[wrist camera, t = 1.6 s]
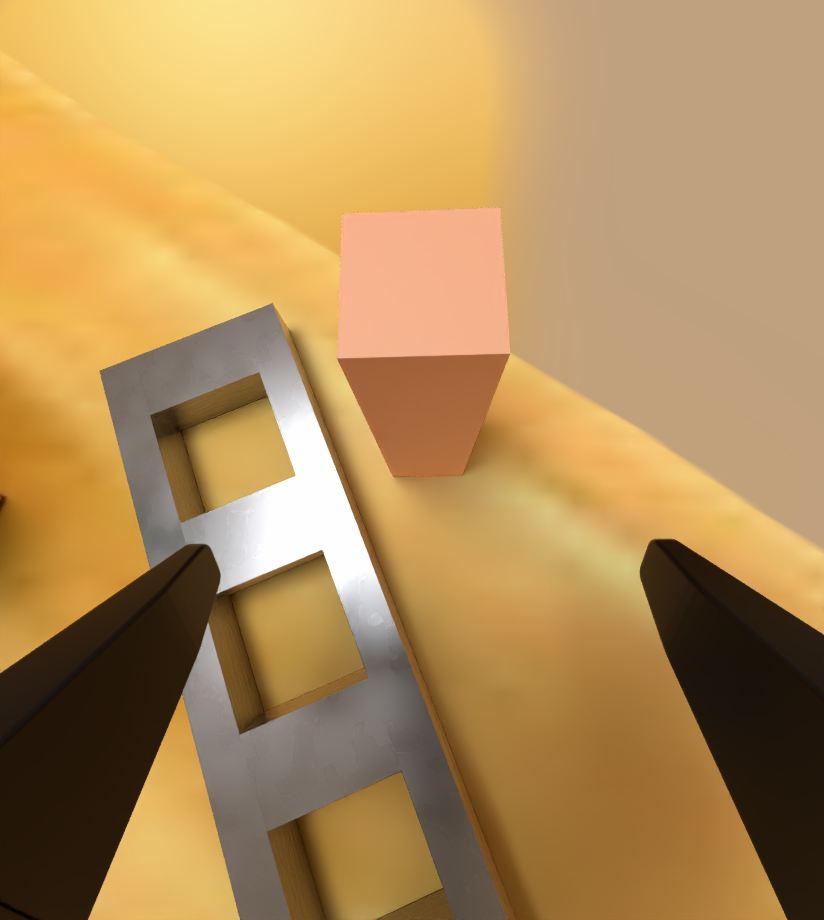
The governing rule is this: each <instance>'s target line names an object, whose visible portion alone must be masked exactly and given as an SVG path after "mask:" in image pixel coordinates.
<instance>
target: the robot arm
mask: <svg viewBox="0 0 824 920" xmlns="http://www.w3.org/2000/svg"><path fill="white" fill-rule="evenodd" d="M640 578H641V582H642V585H643V588H644V591H645V594H646V597H647V600H648V603H649V606H650V609H651V612H652V615H653V618H654V621H655V624H656V627H657V630H658V633H659V636H660V639H661V641H662V644H663V647H664V650H665V652H666V655H667V657H668V659H669V662H670V664H671V666H672V668H673V670H674V673H675V675H676V677H677V679H678V681H679V684H680V686H681V688H682V690H683V692H684V695H685V697H686V699H687V701H688V703H689V705H690V708H691V710H692V712H693V714H694V716H695V719H696V721H697V723H698V725H699V727H700V730H701V732H702V734H703V736H704V738H705V740H706V743H707V745H708V747H709V749H710V751H711V754H712V756H713V758H714V760H715V762H716V765H717V767H718V769H719V771H720V773H721V775H722V778H723V780H724V782H725V784H726V786H727V789H728V791H729V793H730V795H731V797H732V800H733V802H734V804H735V806H736V808H737V810H738V813H739V815H740V817H741V819H742V821H743V824H744V826H745V828H746V830H747V832H748V835H749V837H750V839H751V841H752V843H753V845H754V848H755V850H756V852H757V854H758V856H759V859H760V861H761V863H762V865H763V867H764V870H765V872H766V874H767V876H768V878H769V880H770V883H771V885H772V887H773V889H774V891H775V894H776V896H777V898H778V900H779V902H780V905H781V907H782V909H783V911H784V913H785V915H786V918H787V920H824V635H823V634H822V633H820V632H819V631H817V630H816V629H814V628H812V627H811V626H809V625H808V624H806V623H805V622H803V621H802V620H800V619H798V618H797V617H795V616H794V615H792V614H791V613H789V612H788V611H786V610H784V609H783V608H781V607H780V606H778V605H777V604H775V603H774V602H772V601H770V600H769V599H767V598H766V597H764V596H763V595H761V594H760V593H758V592H756V591H755V590H753V589H752V588H750V587H749V586H747V585H746V584H744V583H742V582H741V581H739V580H738V579H736V578H735V577H733V576H732V575H730V574H728V573H727V572H725V571H724V570H722V569H721V568H719V567H718V566H716V565H714V564H713V563H711V562H710V561H708V560H707V559H705V558H704V557H702V556H700V555H699V554H697V553H696V552H694V551H693V550H691V549H690V548H688V547H686V546H685V545H683V544H682V543H680V542H679V541H677V540H675V539H653V540H651V541H650V542H649V544H648V547H647V550H646V553H645V555H644V558H643V561H642V564H641V567H640ZM220 579H221V574H220V569H219V567H218V564H217V562H216V559H215V557H214V554H213V552H212V549H211V547H210V546H209V545H207V544H187V545H185V546H184V547H182V548H181V549H179V550H178V551H176V552H175V553H173V554H172V555H171V556H169V557H168V558H166V559H165V560H163V561H162V562H160V563H159V564H158V565H156V566H155V567H153V568H152V569H150V570H149V571H147V572H146V573H145V574H143V575H142V576H140V577H139V578H137V579H136V580H134V581H133V582H132V583H130V584H129V585H127V586H126V587H124V588H123V589H121V590H120V591H119V592H117V593H116V594H114V595H113V596H111V597H110V598H108V599H107V600H106V601H104V602H103V603H101V604H100V605H98V606H97V607H95V608H94V609H93V610H91V611H90V612H88V613H87V614H85V615H84V616H82V617H81V618H80V619H78V620H77V621H75V622H74V623H72V624H71V625H69V626H68V627H67V628H65V629H64V630H62V631H61V632H59V633H58V634H56V635H55V636H54V637H52V638H51V639H49V640H48V641H46V642H45V643H43V644H42V645H41V646H39V647H38V648H36V649H35V650H33V651H32V652H30V653H29V654H27V655H26V656H25V657H23V658H22V659H20V660H19V661H17V662H16V663H14V664H13V665H12V666H10V667H9V668H7V669H6V670H4V671H3V672H1V673H0V920H88V918H89V916H90V913H91V911H92V908H93V906H94V904H95V901H96V899H97V896H98V894H99V892H100V889H101V887H102V884H103V882H104V880H105V877H106V875H107V872H108V870H109V868H110V865H111V863H112V860H113V858H114V856H115V853H116V851H117V848H118V846H119V844H120V841H121V839H122V836H123V834H124V832H125V829H126V827H127V824H128V822H129V819H130V817H131V815H132V812H133V810H134V807H135V805H136V803H137V800H138V798H139V795H140V793H141V791H142V788H143V786H144V783H145V781H146V779H147V776H148V774H149V771H150V769H151V767H152V764H153V762H154V759H155V757H156V755H157V752H158V750H159V747H160V745H161V743H162V740H163V738H164V735H165V733H166V731H167V728H168V726H169V723H170V721H171V718H172V716H173V714H174V711H175V709H176V706H177V704H178V702H179V699H180V697H181V694H182V692H183V690H184V687H185V685H186V682H187V680H188V678H189V675H190V673H191V670H192V668H193V666H194V663H195V661H196V658H197V655H198V653H199V650H200V647H201V644H202V641H203V638H204V634H205V631H206V628H207V624H208V621H209V618H210V614H211V611H212V608H213V604H214V601H215V598H216V594H217V591H218V588H219V584H220Z"/></svg>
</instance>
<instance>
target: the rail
mask: <svg viewBox="0 0 824 920" xmlns="http://www.w3.org/2000/svg"><path fill="white" fill-rule="evenodd" d="M100 374H101V378H102V382H103V386H104V390H105V394H106V398H107V402H108V406H109V410H110V413H111V417H112V421H113V425H114V429H115V433H116V437H117V441H118V445H119V449H120V453H121V456H122V460H123V464H124V468H125V472H126V476H127V480H128V484H129V488H130V492H131V495H132V499H133V503H134V507H135V511H136V515H137V519H138V523H139V527H140V531H141V534H142V538H143V542H144V546H145V550H146V554H147V558H148V562H149V566H150V569H152V568H153V567H155V566H156V565H158V564H159V563H160V562H162V561H163V560H165V559H166V558H168V557H169V556H171V555H172V554H173V553H175V552H176V551H178V550H179V549H181V548H182V547H184V546H185V545H187V544H207V545H209V546H210V547H211V549H212V552H213V554H214V557H215V559H216V562H217V564H218V567H219V569H220V574H221V579H220V584H219V588H218V591H217V594H216V598H215V601H214V604H213V608H212V611H211V614H210V618H209V621H208V624H207V628H206V631H205V634H204V638H203V641H202V644H201V647H200V650H199V653H198V655H197V658H196V661H195V663H194V666H193V668H192V670H191V673H190V675H189V678H188V680H187V682H186V685H185V687H184V690H183V692H182V695H183V698H184V702H185V706H186V710H187V714H188V718H189V722H190V726H191V730H192V734H193V737H194V741H195V745H196V749H197V753H198V757H199V761H200V765H201V769H202V773H203V776H204V780H205V784H206V788H207V792H208V796H209V800H210V804H211V808H212V812H213V816H214V819H215V823H216V827H217V831H218V835H219V839H220V843H221V847H222V851H223V855H224V858H225V862H226V866H227V870H228V874H229V878H230V882H231V886H232V890H233V894H234V898H235V901H236V905H237V909H238V913H239V917H240V920H325V917H324V913H323V910H322V906H321V903H320V900H319V896H318V893H317V890H316V886H315V883H314V879H313V876H312V873H311V869H310V866H309V863H308V859H307V856H306V852H305V849H304V846H303V842H302V839H301V836H300V832H299V829H298V825H297V822H296V818H299V817H301V816H303V815H305V814H307V813H310V812H312V811H314V810H316V809H318V808H321V807H323V806H325V805H327V804H329V803H332V802H334V801H336V800H338V799H340V798H343V797H345V796H347V795H349V794H352V793H354V792H356V791H358V790H360V789H363V788H365V787H367V786H369V785H371V784H374V783H376V782H378V781H380V780H382V779H385V778H387V777H389V776H391V775H393V774H396V773H398V772H400V771H402V774H403V777H404V779H405V782H406V785H407V788H408V791H409V793H410V796H411V799H412V802H413V805H414V807H415V810H416V813H417V816H418V819H419V821H420V824H421V827H422V830H423V833H424V835H425V838H426V841H427V844H428V847H429V849H430V852H431V855H432V858H433V861H434V864H435V866H436V869H437V872H438V875H439V878H440V880H441V883H442V886H443V889H441V890H439V891H437V892H435V893H433V894H431V895H429V896H426V897H424V898H422V899H420V900H418V901H416V902H414V903H412V904H409V905H407V906H405V907H403V908H401V909H399V910H397V911H394V912H392V913H390V914H388V915H386V916H384V917H382V918H380V919H377V920H516V917H515V915H514V912H513V910H512V907H511V904H510V902H509V899H508V897H507V894H506V892H505V889H504V886H503V884H502V881H501V879H500V876H499V873H498V871H497V868H496V866H495V863H494V860H493V858H492V855H491V853H490V850H489V847H488V845H487V842H486V840H485V837H484V834H483V832H482V829H481V827H480V824H479V821H478V819H477V816H476V814H475V811H474V808H473V806H472V803H471V801H470V798H469V796H468V793H467V790H466V788H465V785H464V783H463V780H462V777H461V775H460V772H459V770H458V767H457V764H456V762H455V759H454V757H453V754H452V751H451V749H450V746H449V744H448V741H447V738H446V736H445V733H444V731H443V728H442V725H441V723H440V720H439V718H438V715H437V712H436V710H435V707H434V705H433V702H432V699H431V697H430V694H429V692H428V689H427V687H426V684H425V681H424V679H423V676H422V674H421V671H420V668H419V666H418V663H417V661H416V658H415V655H414V653H413V650H412V648H411V645H410V642H409V640H408V637H407V635H406V632H405V629H404V627H403V624H402V622H401V619H400V616H399V614H398V611H397V609H396V606H395V603H394V601H393V598H392V596H391V593H390V591H389V588H388V585H387V583H386V580H385V578H384V575H383V572H382V570H381V567H380V565H379V562H378V559H377V557H376V554H375V552H374V549H373V546H372V544H371V541H370V539H369V536H368V533H367V531H366V528H365V526H364V523H363V520H362V518H361V515H360V513H359V510H358V507H357V505H356V502H355V500H354V497H353V494H352V492H351V489H350V487H349V484H348V482H347V479H346V476H345V474H344V471H343V469H342V466H341V463H340V461H339V458H338V456H337V453H336V450H335V448H334V445H333V443H332V440H331V437H330V435H329V432H328V430H327V427H326V424H325V422H324V419H323V417H322V414H321V411H320V409H319V406H318V404H317V401H316V398H315V396H314V393H313V391H312V388H311V386H310V383H309V380H308V378H307V375H306V373H305V370H304V367H303V365H302V362H301V360H300V357H299V354H298V352H297V349H296V347H295V344H294V341H293V339H292V336H291V334H290V331H289V329H288V327H287V326H286V324H285V323H284V321H283V319H282V318H281V316H280V315H279V313H278V311H277V310H276V308H275V307H274V305H273V303H272V304H270V305H267V306H264V307H262V308H259V309H257V310H254V311H252V312H249V313H247V314H244V315H241V316H239V317H236V318H234V319H231V320H229V321H226V322H223V323H221V324H218V325H216V326H213V327H211V328H208V329H206V330H203V331H200V332H198V333H195V334H193V335H190V336H188V337H185V338H182V339H180V340H177V341H175V342H172V343H170V344H167V345H165V346H162V347H159V348H157V349H154V350H152V351H149V352H147V353H144V354H141V355H139V356H136V357H134V358H131V359H129V360H126V361H123V362H121V363H118V364H116V365H113V366H111V367H108V368H106V369H103V370H100ZM266 396H268V398H269V401H270V403H271V406H272V409H273V412H274V415H275V417H276V420H277V423H278V426H279V429H280V431H281V434H282V437H283V440H284V443H285V445H286V448H287V451H288V454H289V457H290V460H291V462H292V465H293V468H294V471H295V474H296V476H294V477H292V478H289V479H287V480H285V481H282V482H280V483H277V484H275V485H272V486H270V487H268V488H265V489H263V490H260V491H258V492H255V493H253V494H251V495H248V496H246V497H243V498H241V499H238V500H236V501H234V502H231V503H229V504H226V505H224V506H221V507H219V508H217V509H214V510H212V511H209V512H207V513H205V511H204V508H203V505H202V501H201V498H200V494H199V491H198V488H197V484H196V481H195V477H194V474H193V471H192V467H191V464H190V461H189V457H188V454H187V450H186V447H185V444H184V440H183V437H182V434H181V430H184V429H186V428H189V427H191V426H194V425H196V424H199V423H201V422H204V421H206V420H209V419H211V418H214V417H216V416H219V415H221V414H224V413H226V412H229V411H231V410H234V409H236V408H239V407H241V406H244V405H246V404H249V403H251V402H254V401H256V400H259V399H261V398H264V397H266ZM322 555H325V558H326V561H327V563H328V566H329V569H330V572H331V575H332V577H333V580H334V583H335V586H336V589H337V591H338V594H339V597H340V600H341V603H342V605H343V608H344V611H345V614H346V617H347V619H348V622H349V625H350V628H351V631H352V633H353V636H354V639H355V642H356V645H357V647H358V650H359V653H360V656H361V659H362V662H363V664H364V667H365V668H364V669H361V670H359V671H357V672H355V673H352V674H350V675H348V676H345V677H343V678H341V679H339V680H336V681H334V682H332V683H329V684H327V685H325V686H323V687H320V688H318V689H316V690H314V691H311V692H309V693H307V694H304V695H302V696H300V697H298V698H295V699H293V700H291V701H288V702H286V703H284V704H282V705H279V706H277V707H275V708H273V709H270V710H268V711H266V712H264V711H263V707H262V704H261V700H260V697H259V694H258V690H257V687H256V684H255V680H254V677H253V673H252V670H251V667H250V663H249V660H248V657H247V653H246V650H245V646H244V643H243V640H242V636H241V633H240V629H239V626H238V623H237V619H236V616H235V613H234V609H233V606H232V602H231V599H230V596H229V595H230V594H232V593H235V592H237V591H240V590H242V589H244V588H247V587H249V586H251V585H254V584H256V583H258V582H261V581H263V580H266V579H268V578H270V577H273V576H275V575H277V574H280V573H282V572H284V571H287V570H289V569H292V568H294V567H296V566H299V565H301V564H303V563H306V562H308V561H310V560H313V559H315V558H318V557H320V556H322Z"/></svg>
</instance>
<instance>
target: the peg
mask: <svg viewBox="0 0 824 920" xmlns="http://www.w3.org/2000/svg"><path fill="white" fill-rule="evenodd" d="M502 242H503V240H502V226H501V210H500V207H495V208H471V209H448V210H424V211H400V212H378V213H377V212H376V213H353V214H342V232H341V260H340V290H339V319H338V349H337V359H338V361H339V363H340V365H341V368H342V370H343V372H344V374H345V376H346V378H347V380H348V382H349V385H350V387H351V389H352V391H353V393H354V395H355V397H356V399H357V401H358V404H359V406H360V408H361V410H362V412H363V414H364V416H365V418H366V421H367V423H368V425H369V427H370V429H371V431H372V433H373V435H374V437H375V440H376V442H377V444H378V446H379V448H380V450H381V452H382V454H383V457H384V459H385V461H386V463H387V465H388V467H389V469H390V471H391V473H392V476H451V475H463V472H464V470H465V467H466V465H467V462H468V460H469V457H470V454H471V452H472V449H473V447H474V444H475V442H476V439H477V437H478V434H479V432H480V429H481V426H482V424H483V421H484V419H485V416H486V414H487V411H488V409H489V406H490V403H491V401H492V398H493V396H494V393H495V391H496V388H497V386H498V383H499V381H500V378H501V375H502V373H503V370H504V368H505V365H506V363H507V360H508V358H509V355H510V346H509V330H508V315H507V300H506V287H505V286H506V285H505V270H504V256H503V243H502Z"/></svg>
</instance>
